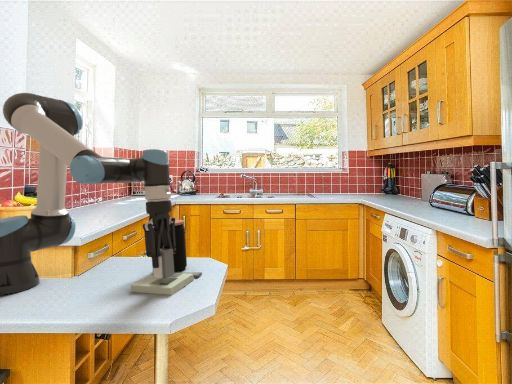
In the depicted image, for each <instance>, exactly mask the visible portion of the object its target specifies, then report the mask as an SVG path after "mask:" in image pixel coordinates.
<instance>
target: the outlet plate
mask: <svg viewBox="0 0 512 384" xmlns="http://www.w3.org/2000/svg"><path fill="white" fill-rule="evenodd" d="M194 280H195V278H194V274H188V273H182V272H176V273H174V274H173V275H172V276H170V277H168V278H166V279H162V278H153V273H152V274H150V275H148V276H146V277H144V278H142V279H140V280H139V281H137V282H134V283H133V284H131V285H130V286H131V288H130V289H131V290H130V291H131V292H133V293H144V294H154V295H155V294H157V295H166V296H173V295H174V294H175V293H177V292H178V291H179V290H181V289H183V288H184V287H185V286H187V285H188V284H190V283H191V282H193V281H194ZM164 284H166V285H164Z"/></svg>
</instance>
